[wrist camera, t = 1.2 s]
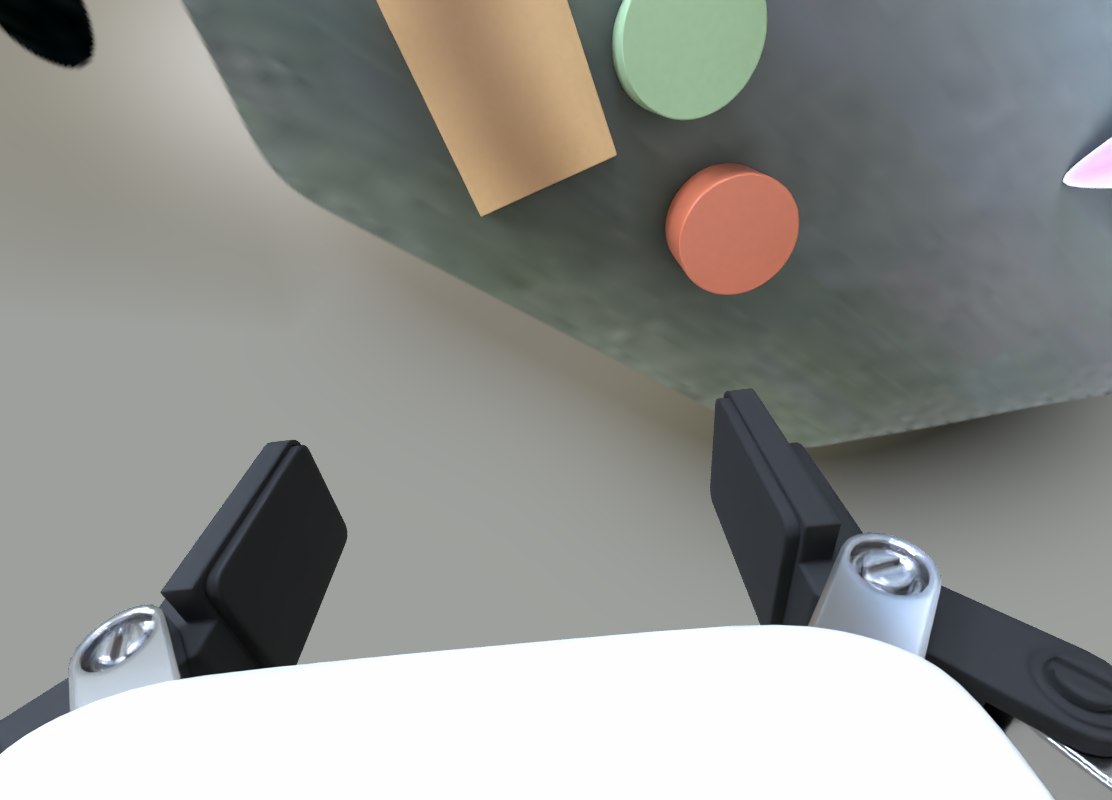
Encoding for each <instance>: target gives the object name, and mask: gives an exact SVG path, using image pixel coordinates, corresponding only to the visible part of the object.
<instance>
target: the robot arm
mask: <svg viewBox="0 0 1112 800" xmlns="http://www.w3.org/2000/svg"><path fill="white" fill-rule="evenodd" d="M710 491H711V498H712V502H713V505H714V508H715V510H716V513H717V515H718V518H719V520H720V523H721V525H722V528H723V531H724V533H725V535H726V538H727V541H728V543H729V546H730V548H731V551H732V554H733V556H734V559H735V561H736V564H737V566H738V568H739V571H740V574H741V576H742V579H743V582H744V584H745V587H746V589H747V592H748V594H749V597H750V599H751V602H752V604H753V607H754V610H755V612H756V615H757V617H758V620H759V622H760V625H749V626H726V627H712V628H699V629H685V630H672V631H671V630H670V631H657V632H645V633H633V634H622V635H611V636H600V637H588V638H576V639H566V640H554V641H544V642H531V643H521V644H510V645H499V646H489V647H477V648H468V649H456V650H447V651H435V652H424V653H414V654H403V655H393V656H383V657H373V658H362V659H352V660H342V661H332V662H323V663H312V664H302V665H297V662H298V660H299V657H300V655H301V652H302V650H303V647H304V645H305V642H306V640H307V637H308V635H309V632H310V630H311V627H312V625H313V623H314V620H315V618H316V615H317V612H318V610H319V608H320V605H321V603H322V600H323V598H324V595H325V593H326V590H327V588H328V585H329V583H330V580H331V578H332V575H333V573H334V570H335V568H336V566H337V563H338V561H339V558H340V556H341V553H342V551H343V548H344V546H345V543H346V540H347V528H346V525H345V523H344V521H343V519H342V516H341V515H340V512H339V510H338V508H337V506H336V504H335V502H334V500H333V498H332V496H331V494H330V492H329V490H328V488H327V486H326V484H325V482H324V479H323V478H322V476H321V473H320V472H319V469H318V467H317V465H316V463H315V461H314V459H313V457H312V455H311V453H310V451H309V449H308V448H307V447H306V446H305V445H301V444H300V443H299V442H298V441H296V440H287V441H279V442H271V443H268V444H267V445H266V446H265V447H264V448H263V450H262V451H261V452H260V454H259V455H258V456H257V458H256V459H255V461H254V462H253V463H252V465H251V466H250V468H249V469H248V470H247V472H246V473H245V475H244V476H243V477H242V479H241V480H240V482H239V483H238V484H237V486H236V487H235V489H234V490H233V491H232V493H231V494H230V496H229V497H228V499H227V500H226V501H225V503H224V504H223V505H222V507H221V508H220V509H219V511H218V513H217V514H216V515H215V516H214V518H213V519H212V521H211V522H210V523H209V525H208V526H207V528H206V529H205V530H204V532H203V533H202V535H201V536H200V537H199V539H198V540H197V542H196V543H195V545H194V546H193V547H192V549H191V550H190V551H189V553H188V554H187V556H186V557H185V558H184V560H183V561H182V563H181V564H180V565H179V567H178V568H177V570H176V571H175V572H174V574H173V575H172V577H171V578H170V579H169V581H168V582H167V584H166V585H165V586H164V588H163V589H162V591H161V594H162V595H163V596H164V597H165V600H164V601H163V603H162V604H161V606H160V607H157V606H154V605H140V606H136V607H133V608H129V609H127V610H124V611H122V612H120V613H118V614H116V615H114V616H112V617H111V618H109V619H108V620H106V621H105V622H103V623H101V624H100V625H99V626H98V627H97V628H95V629H94V630H93V631H92V632H91V633H90V634H88V635H87V636H86V637H85V639H84V640H83V641H82V642H81V643H80V644H79V645H78V647H77V648H76V650H75V652H74V654H73V656H72V657H71V659H70V663H69V668H68V674H69V675H68V676H69V677H68V678H67V679H65V680H64V681H62V682H61V683H59V684H57V685H56V686H54V687H53V688H51V689H50V690H48V691H46V692H45V693H43V694H42V695H40V696H38V697H37V698H36V699H34V700H32V701H31V702H29V703H27V704H26V705H24V706H23V707H21V708H20V709H18V710H16V711H15V712H13V713H12V714H10V715H9V716H7V717H5V718H4V719H2V720H0V800H1112V666H1111V665H1110V664H1109V663H1107V662H1106V661H1104V660H1103V659H1101V658H1099V657H1097V656H1095V655H1093V654H1091V653H1090V652H1088V651H1086V650H1084V649H1082V648H1079V647H1077V646H1075V645H1073V644H1070V643H1068V642H1066V641H1064V640H1062V639H1059V638H1057V637H1055V636H1053V635H1050V634H1048V633H1045V632H1044V631H1041V630H1039V629H1037V628H1035V627H1033V626H1030V625H1028V624H1026V623H1024V622H1021V621H1019V620H1017V619H1015V618H1012V617H1010V616H1008V615H1006V614H1004V613H1001V612H999V611H997V610H994V609H992V608H990V607H988V606H986V605H983V604H981V603H979V602H976V601H975V600H972V599H970V598H968V597H965V596H963V595H961V594H959V593H957V592H954V591H952V590H950V589H948V588H946V587H943V586H941V575H940V573H939V571H938V569H937V567H936V564H935V563H934V562H933V561H932V560H931V559H930V558H929V557H928V555H927V554H926V553H924V552H923V551H922V550H920V549H919V548H917V547H916V546H915V545H913V544H911V543H909V542H907V541H905V540H903V539H900V538H898V537H895V536H891V535H887V534H883V533H862V531H861V530H860V528H859V527H858V525H857V524H856V522H855V521H854V520H853V518H852V517H851V515H850V514H849V512H848V511H847V509H846V508H845V507H844V505H843V503H842V502H841V501H840V499H839V498H838V496H837V495H836V493H835V492H834V490H833V489H832V487H831V486H830V485H829V483H828V482H827V480H826V479H825V477H824V476H823V475H822V473H821V471H820V470H819V468H818V467H817V466H816V464H815V463H814V461H813V460H812V458H811V457H810V455H809V454H808V452H807V451H806V450H805V448H804V447H803V446H802V445H801V444H799V443H788V441H787V440H786V438H785V437H784V435H783V434H782V432H781V430H780V429H779V427H778V426H777V424H776V423H775V421H774V420H773V418H772V417H771V415H770V414H769V412H768V411H767V409H766V408H765V406H764V404H763V403H762V401H761V400H760V398H759V397H758V395H757V394H756V392H755V391H754V390H753V389H751V388H750V389H741V390H732V391H726V392H725V394H724V398H719V399H717V400H716V404H715V420H714V436H713V452H712V468H711V484H710Z"/></svg>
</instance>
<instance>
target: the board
mask: <svg viewBox="0 0 1112 800" xmlns="http://www.w3.org/2000/svg"><path fill="white" fill-rule="evenodd" d="M376 1H377V3H378V5H379V7H380V9H381V11H382V13H383V15H384V17H385V19H386V22H387V24H388V26H389V28H390V30H391V32H392V34H393V36H394V38H395V40H396V42H397V44H398V46H399V48H400V50H401V53H402V55H403V57H404V59H405V61H406V63H407V65H408V67H409V69H410V71H411V73H412V75H413V77H414V79H415V81H416V84H417V86H418V88H419V90H420V92H421V94H422V96H423V98H424V100H425V102H426V104H427V106H428V108H429V110H430V112H431V115H432V117H433V119H434V121H435V123H436V125H437V127H438V129H439V131H440V133H441V135H442V137H443V139H444V141H445V143H446V146H447V148H448V150H449V152H450V154H451V156H452V158H453V160H454V162H455V164H456V166H457V168H458V170H459V172H460V174H461V177H462V179H463V181H464V183H465V185H466V187H467V189H468V191H469V193H470V195H471V197H472V199H473V201H474V203H475V205H476V208H477V210H478V212H479V214H480V216H481V217H482V216H484V215H487V214H489V213H491V212H493V211H495V210H498V209H500V208H502V207H504V206H506V205H509V204H511V203H513V202H515V201H517V200H520V199H522V198H524V197H526V196H528V195H531V194H533V193H535V192H537V191H539V190H542V189H544V188H546V187H548V186H550V185H553V184H555V183H557V182H559V181H561V180H564V179H566V178H568V177H570V176H573V175H575V174H577V173H579V172H581V171H584V170H586V169H588V168H590V167H592V166H595V165H597V164H599V163H601V162H603V161H606V160H608V159H610V158H612V157H614V156H616V155H617V153H616V150H615V147H614V143H613V140H612V137H611V134H610V131H609V128H608V125H607V122H606V119H605V116H604V112H603V109H602V106H601V103H600V100H599V97H598V94H597V91H596V88H595V85H594V81H593V78H592V75H591V72H590V69H589V66H588V63H587V60H586V57H585V54H584V50H583V47H582V44H581V41H580V38H579V35H578V32H577V29H576V26H575V23H574V19H573V16H572V13H571V10H570V7H569V4H568V1H567V0H376Z"/></svg>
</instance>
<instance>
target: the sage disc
mask: <svg viewBox="0 0 1112 800" xmlns="http://www.w3.org/2000/svg"><path fill="white" fill-rule="evenodd" d="M766 30H767V7H766V0H623V2H622V4H621V6H620V8H619V11H618V14H617V17H616V20H615V24H614V29H613V36H612V56H613V63H614V67H615V71H616V74H617V77H618V79H619V81H620V83H621V85H622V87H623V89H624V90H625V92H626V93H627V94H628V96H629V97H630V98H631V99H632V100H633V101H634V102H635V103H637V104H638V105H639V106H641V107H642V108H644V109H646V110H648V111H651V112H653V113H656V114H659V115H661V116H664V117H667V118H671V119H675V120H693V119H698V118H702V117H705V116H707V115H710V114H712V113H714V112H716V111H718V110H720V109H721V108H722V107H724V106H725V105H727V104H728V103H729V102H730V101H731V100H733V99H734V98H735V97H736V96H737V95H738V93H739V92H740V91H741V90H742V89H743V88H744V86H745V85H746V84H747V82H748V81H749V79H750V77H751V76H752V74H753V72H754V71H755V68H756V66H757V64H758V62H759V59H760V56H761V54H762V51H763V47H764V43H765V38H766Z"/></svg>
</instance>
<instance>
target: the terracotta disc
mask: <svg viewBox="0 0 1112 800" xmlns="http://www.w3.org/2000/svg"><path fill="white" fill-rule="evenodd" d="M798 231H799V213H798V209H797V205H796V203H795V200H794V198H793V196H792V195H791V193H790V192H789V191H788V189H787V188H786V187H785V186H784V185H782V184H781V183H780V182H779V181H777V180H775V179H773V178H771V177H769V176H767V175H765V174H763V173H761V172H758V171H756V170H754V169H752V168H750V167H747V166H745V165H741V164H736V163H723V164H717V165H713V166H710V167H708V168H705V169H703V170H701V171H699V172H698V173H696V174H695V175H693V176H692V177H691V178H690V179H689V180H687V181H686V182H685V183H684V184H683V186H682V187H681V188H680V189H679V191H678V192H677V193H676V195H675V197H674V198H673V200H672V202H671V204H670V207H669V209H668V213H667V217H666V223H665V234H666V240H667V244H668V247H669V249H670V251H671V253H672V255H673V256H674V258H675V259H676V261H677V262H678V263H679V265H680V266H681V267H682V269H683V270H684V272H685V273H686V274H687V276H688V277H689V278H690V279H691V280H692V281H693V282H694V283H695V284H696V285H697V286H699V287H700V288H702V289H704V290H706V291H708V292H711V293H715V294H721V295H732V294H739V293H744V292H747V291H750V290H752V289H755V288H757V287H759V286H760V285H762V284H764V283H765V282H767V281H768V280H769V279H771V278H772V277H773V276H774V275H775V274H776V273H777V272H778V271H779V270H780V269H781V268H782V267H783V266H784V264H785V263H786V261H787V260H788V258H789V257H790V255H791V253H792V251H793V249H794V246H795V244H796V240H797V237H798Z"/></svg>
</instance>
